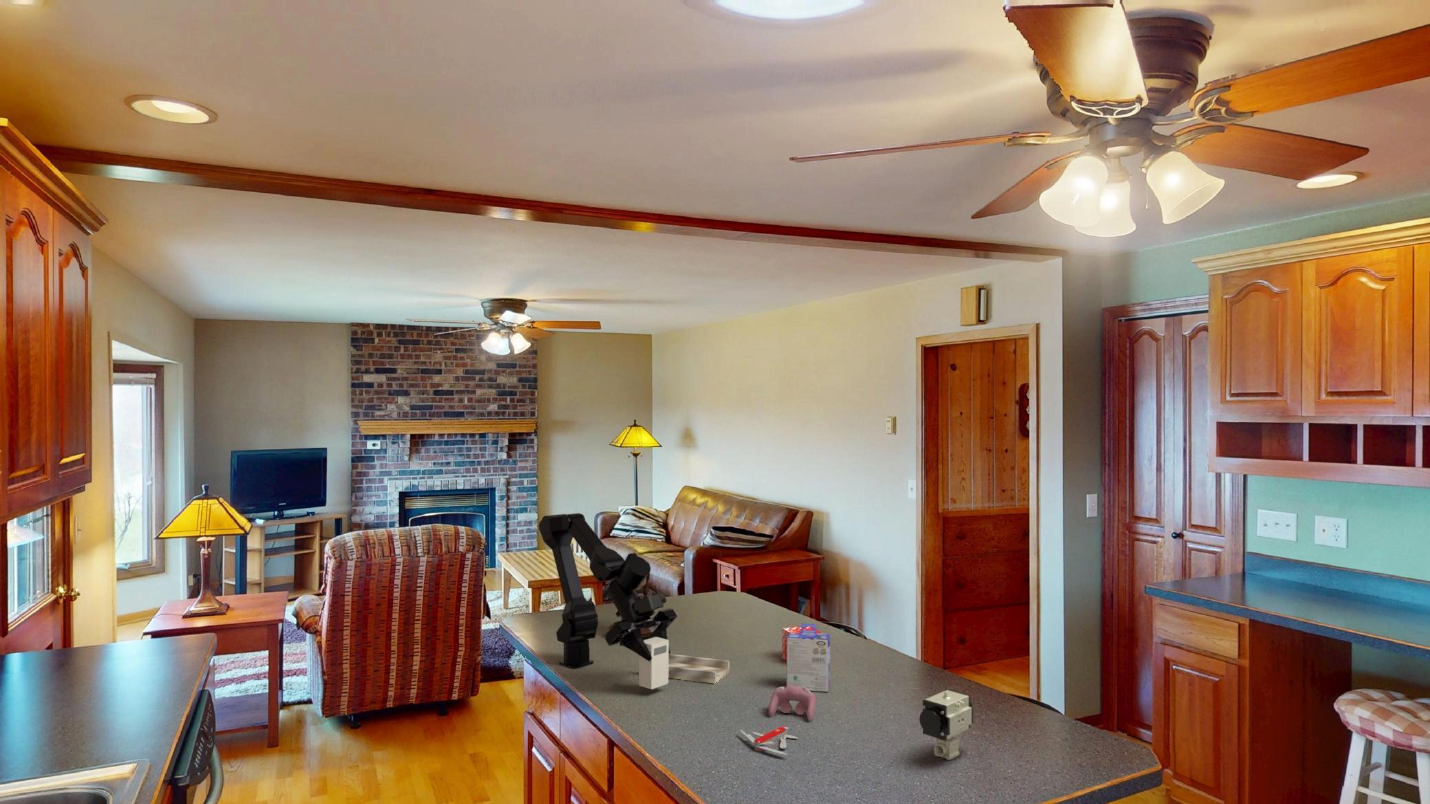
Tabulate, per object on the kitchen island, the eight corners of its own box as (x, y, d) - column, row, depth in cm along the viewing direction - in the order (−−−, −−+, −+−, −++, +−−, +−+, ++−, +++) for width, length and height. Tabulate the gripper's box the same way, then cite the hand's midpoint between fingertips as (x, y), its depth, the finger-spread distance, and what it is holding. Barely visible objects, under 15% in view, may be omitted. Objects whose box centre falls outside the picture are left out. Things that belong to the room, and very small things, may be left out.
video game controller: (816, 724, 177) (819, 689, 180) (812, 721, 173) (815, 686, 176) (771, 718, 180) (774, 685, 183) (766, 715, 176) (769, 681, 179)
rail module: (638, 685, 191) (639, 641, 192) (656, 679, 196) (656, 636, 196) (651, 689, 189) (651, 645, 189) (668, 683, 193) (668, 640, 193)
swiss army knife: (762, 726, 172) (762, 716, 172) (818, 742, 164) (818, 732, 164) (727, 743, 163) (727, 732, 163) (785, 761, 155) (785, 750, 155)
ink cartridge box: (830, 685, 197) (830, 623, 197) (829, 693, 192) (829, 629, 192) (788, 682, 199) (788, 621, 199) (786, 690, 194) (786, 627, 194)
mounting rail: (638, 674, 205) (638, 663, 205) (655, 663, 214) (655, 652, 214) (714, 684, 197) (714, 672, 198) (729, 672, 207) (729, 660, 207)
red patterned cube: (810, 655, 221) (810, 625, 221) (823, 664, 214) (823, 633, 214) (782, 658, 218) (782, 628, 219) (794, 667, 211) (794, 636, 211)
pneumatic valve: (918, 761, 155) (918, 695, 155) (952, 743, 163) (952, 681, 163) (944, 770, 150) (944, 703, 151) (978, 752, 159) (978, 688, 159)
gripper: (613, 586, 188) (648, 645, 180) (671, 574, 202) (705, 628, 194) (590, 616, 193) (623, 674, 185) (648, 602, 207) (680, 655, 199)
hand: (659, 657), depth 191 cm, fingers closed on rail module, 5 cm apart
